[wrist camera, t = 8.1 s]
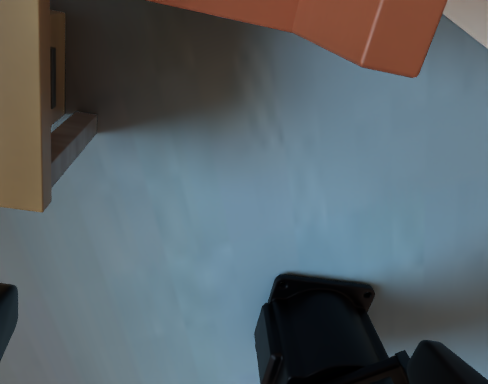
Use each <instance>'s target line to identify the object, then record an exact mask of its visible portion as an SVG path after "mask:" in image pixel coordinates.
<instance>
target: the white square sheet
mask: <svg viewBox="0 0 488 384" xmlns="http://www.w3.org/2000/svg"><path fill="white" fill-rule="evenodd" d="M442 14H444V15H445V16H446V17H447V18H449V19H450V20H451V21H453V22H454V23H455V24H456V25H458V26H459V27H460V28H462V29H463V30H464V31H465V32H467V33H468V34H469V35H471V36H472V37H473V38H474V39H476V40H477V41H478V42H480V43H481V44H482V45H483V46H485V47H486V48H487V49H488V0H448V1H447V3H446V6H445V8H444V11H443V13H442Z"/></svg>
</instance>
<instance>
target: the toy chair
mask: <svg viewBox="0 0 488 384" xmlns="http://www.w3.org/2000/svg"><path fill="white" fill-rule="evenodd" d="M145 1H150V2H155V3H159V4H164V5H168V6H173V7H177V8H182V9H186V10H191V11H195V12H200V13H204V14H209V15H214V16H218V17H223V18H227V19H232V20H236V21H241V22H245V23H250V24H254V25H259V26H264V27H268V28H273V29H277V30H282V31H286V32H291V33H294V34H296V35H298V36H300V37H302V38H304V39H306V40H308V41H310V42H312V43H314V44H316V45H318V46H320V47H322V48H324V49H326V50H328V51H330V52H332V53H334V54H336V55H338V56H340V57H342V58H344V59H346V60H348V61H350V62H352V63H354V64H356V65H358V66H360V67H363V68H368V69H372V70H377V71H382V72H387V73H391V74H396V75H401V76H405V77H410V78H414V77H417V76H418V75H419V73H420V70H421V67H422V65H423V62H424V60H425V57H426V55H427V52H428V49H429V47H430V44H431V42H432V39H433V37H434V34H435V31H436V29H437V26H438V24H439V21H440V19H441V16H442V13H443V11H444V8H445V6H446V3H447V1H448V0H145Z"/></svg>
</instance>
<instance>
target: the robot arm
mask: <svg viewBox="0 0 488 384" xmlns="http://www.w3.org/2000/svg"><path fill="white" fill-rule="evenodd" d="M281 282H286V283H284V284H280V283H281ZM366 292H368V293H366ZM364 293H366V294H364ZM374 296H375V292H374V290H373V288H372V287H371V286H370V285H366V284H358V283H350V282H341V281H333V280H325V279H317V278H309V277H301V276H293V275H279V276H277V277H276V278H275V280H274V283H273V287H272V290H271V293H270V297H269V300H268V303H265V304H264V305H263V306H262V309H261V312H260V315H259V319H258V322H257V326H256V329H255V333H254V335H255V348H256V352H257V360H258V368H259V376H260V384H488V380H487V379H486V378H485V377H483V376H482V375H481V374H480V373H478V372H477V371H476V370H475V369H473V368H472V367H471V366H470V365H468V364H467V363H466V362H465V361H463V360H462V359H461V358H460V357H458V356H457V355H456V354H455V353H453V352H452V351H451V350H450V349H448V348H447V347H446V346H445V345H443V344H442V343H440V342H437V341H430V340H423V341H421V342H420V343H419V344H418V346H417V348H416V349H415V351H414V353H413V355H412V356H411V358H409V356H408V354H407V353H406V351H405V350H404V351H401V352H398V353H395V356H393V357H390V358H389V357H388V355H387V353H386V351H385V349H384V347H383V345H382V343H381V340H380V338H379V336H378V334H377V332H376V330H375V328H374V326H373V324H372V322H371V320H370V318H369V316H368V314H367V312H368V310H369V307H370V305H371V303H372V301H373V298H374ZM17 320H18V290H17V287H16V286H15V285H11V284H4V283H0V361H1V359H2V356H3V354H4V352H5V350H6V347H7V345H8V343H9V341H10V338H11V336H12V334H13V332H14V329H15V327H16V324H17Z"/></svg>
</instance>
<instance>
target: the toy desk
mask: <svg viewBox="0 0 488 384" xmlns="http://www.w3.org/2000/svg"><path fill="white" fill-rule="evenodd" d="M64 114H65V13H64V12H60V11H55V10H50V0H0V207H6V208H13V209H21V210H28V211H36V212H44V210H45V209H46V208H47V206H48V205H49V204H50V203H51V188H52V187H53V185H54V184H55V183H56V182H57V181H58V179H59V178H60V177H61V176H62V175H63V173H64V172H65V171H66V170H67V169H68V167H69V166H70V165H71V164H72V163H73V161H74V160H75V159H76V158H77V156H78V155H79V154H80V153H81V152H82V150H83V149H84V148H85V147H86V146H87V144H88V143H89V142H90V141H91V140H92V138H93V137H94V136H95V135H96V131H97V115H95V114H89V113H84V112H78V111H76V112H75V113H74V114H73V115H71V116H70V117H69V118H68V119H67V120H66V121H64V122H63V123H62V124H61V125H60V126H59V127H58V128H56V129H55V130H54V131H53V132H52V133H51V125H52V124H53V123H55V122H56V121H57V120H58V119H60V118H61V117H62V116H63V115H64Z"/></svg>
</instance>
